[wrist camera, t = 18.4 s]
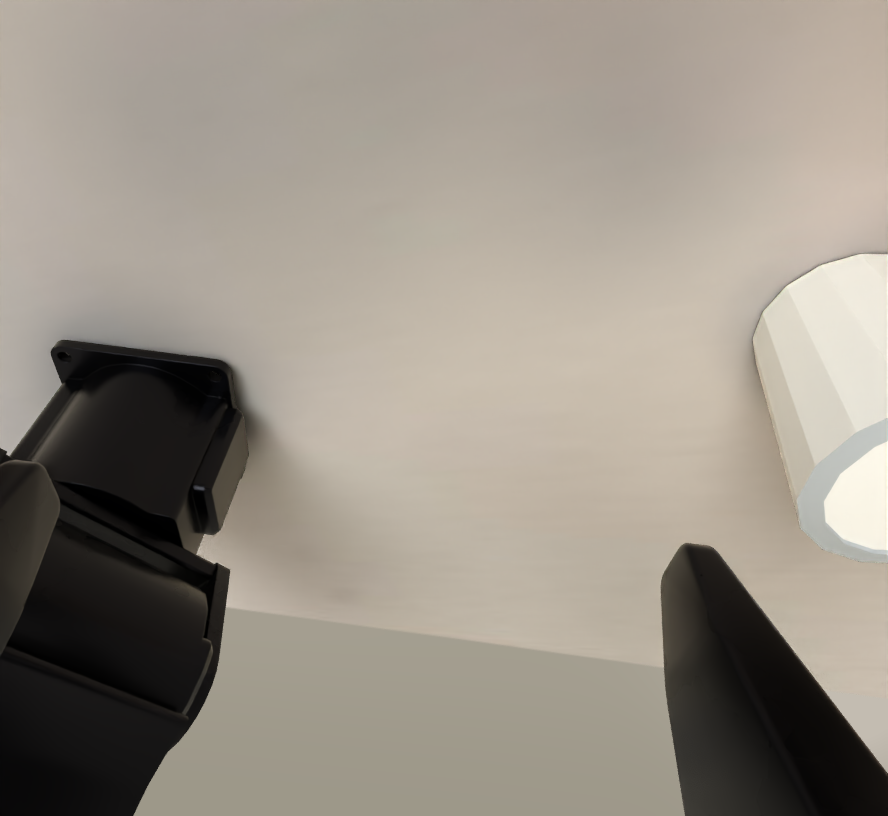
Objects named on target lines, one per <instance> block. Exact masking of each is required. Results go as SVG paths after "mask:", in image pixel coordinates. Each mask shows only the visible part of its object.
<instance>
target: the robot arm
mask: <svg viewBox="0 0 888 816" xmlns="http://www.w3.org/2000/svg"><path fill="white" fill-rule="evenodd" d="M66 353H67V354H66ZM68 354H69V355H68ZM51 357H52V359H53V362H54V365H55V367H56V370H57V372H58V375H59V378H60V380H61V383H62V385H61V387H60V388H59V389H58V391H57V392H56V393H55V395H54V396H53V397H52V399H51V400H50V402H49V403H48V404H47V406H46V407H45V408H44V410H43V411H42V412H41V414H40V415H39V417H38V418H37V419H36V421H35V422H34V423H33V425H32V426H31V428H30V429H29V430H28V432H27V433H26V434H25V436H24V437H23V438H22V440H21V441H20V443H19V444H18V445H17V447H16V448H15V449H14V451H13V452H12V453H11V455H10V456H8V455H6V453H7V451H5V450H3V449H1V448H0V816H133V815H134V813H135V811H136V809H137V807H138V804H139V802H140V800H141V798H142V796H143V794H144V792H145V790H146V788H147V786H148V784H149V782H150V781H151V779H152V777H153V776H154V774H155V772H156V771H157V769H158V767H159V765H160V764H161V762H162V760H163V758H164V757H165V755H166V754H167V752H168V751H169V750H170V749H171V748H172V747H174V746H175V745H176V744H177V743H178V742H179V741H180V739H181V738H182V737H183V736H184V734H185V733H186V732H187V731H188V729H189V727H190V726H191V725H192V723H193V722H194V720H195V719H196V717H197V715H198V714H199V712H200V710H201V708H202V706H203V704H204V702H205V700H206V698H207V696H208V693H209V691H210V689H211V686H212V684H213V681H214V677H215V674H216V671H217V666H218V661H219V654H220V647H221V638H222V631H223V623H224V615H225V608H226V600H227V592H228V584H229V576H230V569H228V568H226V567H224V566H222V565H220V564H219V563H215V564H213V563H211V562H209V561H207V560H205V559H203V558H202V557H200V556H198V555H196V554H197V551H198V548H199V546H200V543H201V541H202V538H203V536H204V534H207V535H215V534H216V533H217V532H219V531H220V530H221V528H222V525H223V522H224V520H225V517H226V514H227V512H228V509H229V507H230V504H231V501H232V499H233V496H234V493H235V491H236V488H237V485H238V483H239V480H240V479H241V478H242V476H243V474H244V471H245V464H246V462H247V459H248V456H249V451H248V444H247V437H246V429H245V422H244V415H243V413H242V412H241V411H240V409H237V407H236V400H235V393H234V386H233V379H232V372H231V369H230V367H229V366H228V365H227V364H226V363H225V362H223V361H221V360H217V359H210V358H202V357H195V356H187V355H179V354H171V353H164V352H156V351H148V350H140V349H132V348H125V347H117V346H109V345H101V344H93V343H86V342H78V341H70V340H61V341H58V342H57V343H56V345H55V346H54V347H53V348H52V350H51ZM213 371H215V372H218V373H219V374H220V375H218V374H215V373H214V372H213ZM661 607H662V630H663V652H664V673H665V687H666V697H667V705H668V711H669V717H670V724H671V730H672V736H673V743H674V749H675V755H676V762H677V768H678V774H679V781H680V787H681V793H682V799H683V806H684V812H685V816H888V773H887V772H886V771H885V770H884V768H883V767H882V765H881V764H880V763H879V762H878V760H877V759H876V758H875V756H874V755H873V754H872V752H871V751H870V750H869V749H868V747H867V746H866V745H865V743H864V742H863V741H862V740H861V738H860V737H859V736H858V734H857V733H856V732H855V730H854V729H853V728H852V726H851V725H850V724H849V723H848V721H847V720H846V719H845V717H844V716H843V715H842V713H841V712H840V711H839V710H838V708H837V707H836V706H835V704H834V703H833V702H832V700H831V699H830V698H829V696H828V695H827V694H826V693H825V691H824V690H823V689H822V687H821V686H820V685H819V683H818V682H817V681H816V680H815V678H814V677H813V676H812V674H811V673H810V672H809V670H808V669H807V668H806V666H805V665H804V664H803V663H802V661H801V660H800V659H799V657H798V656H797V655H796V653H795V652H794V651H793V650H792V648H791V647H790V646H789V644H788V643H787V642H786V640H785V639H784V638H783V637H782V635H781V634H780V633H779V631H778V630H777V629H776V627H775V626H774V625H773V624H772V622H771V621H770V620H769V618H768V617H767V616H766V614H765V613H764V612H763V610H762V609H761V608H760V607H759V605H758V604H757V603H756V601H755V600H754V599H753V597H752V596H751V595H750V594H749V592H748V591H747V590H746V588H745V587H744V586H743V584H742V583H741V582H740V581H739V579H738V578H737V577H736V575H735V574H734V573H733V571H732V570H731V569H730V567H729V566H728V565H727V564H726V562H725V561H724V560H723V558H722V557H721V556H720V554H719V553H718V552H717V551H716V550H715V549H714V548H712V547H710V546H707V545H699V544H691V543H685V544H683V545H681V546H680V548H679V549H678V551H677V552H676V554H675V555H674V557H673V559H672V560H671V562H670V563H669V565H668V567H667V568H666V570H665V572H664V574H663V576H662V580H661Z"/></svg>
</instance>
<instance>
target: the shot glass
mask: <svg viewBox="0 0 888 816" xmlns="http://www.w3.org/2000/svg"><path fill="white" fill-rule="evenodd" d="M752 340H753V347H754V353H755V360H756V365H757V369H758V372H759V376H760V380H761V384H762V387H763V391H764V395H765V399H766V402H767V406H768V410H769V413H770V417H771V421H772V425H773V428H774V432H775V436H776V440H777V443H778V447H779V451H780V455H781V458H782V462H783V466H784V470H785V473H786V477H787V481H788V484H789V488H790V492H791V496H792V499H793V503H794V507H795V511H796V514H797V518H798V522H799V526H800V529H802V530H803V531H804V532H805V533H806V534H807V535H808V536H809V537H810V538H811V539H812V540H813V541H814V542H815V543H816V544H817V545H818V546H819V547H820V548H821V549H822V550H825V551H828V552H831V553H834V554H837V555H840V556H843V557H846V558H849V559H852V560H855V561H858V562H872V563H888V254H858V255H854V256H851V257H847V258H844V259H840V260H837V261H833V262H830V263H826V264H823V265H820V266H818V267H817V268H815V269H813V270H812V271H810V272H809V273H807V274H805V275H804V276H802V277H800V278H799V279H797V280H795V281H794V282H792V283H790V284H789V285H787V286H786V287H785V288H784V289H783V290H782V291H781V292H780V293H779V294H778V296H777V297H776V298H775V299H774V300H773V301H772V302H771V303H770V304H769V306H768V307H767V308H766V309H765V310H764V311H763V312H762V315H761V317H760V320H759V323H758V325H757V328H756V331H755V333H754V336H753V338H752Z"/></svg>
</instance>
